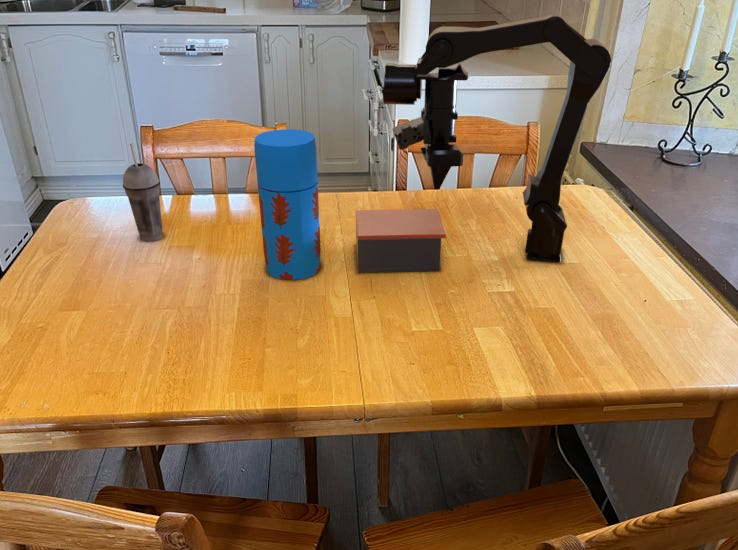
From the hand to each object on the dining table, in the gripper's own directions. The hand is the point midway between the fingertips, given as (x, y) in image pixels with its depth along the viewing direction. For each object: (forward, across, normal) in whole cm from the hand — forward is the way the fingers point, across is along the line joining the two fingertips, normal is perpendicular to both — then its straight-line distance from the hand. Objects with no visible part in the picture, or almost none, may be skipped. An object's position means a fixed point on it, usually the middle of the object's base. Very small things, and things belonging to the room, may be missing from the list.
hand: (436, 188), depth 133 cm
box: (+13, +4, -8) cm, 15 cm away
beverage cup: (+12, -10, -59) cm, 61 cm away
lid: (+6, +4, -8) cm, 10 cm away
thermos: (+13, +7, -28) cm, 32 cm away
